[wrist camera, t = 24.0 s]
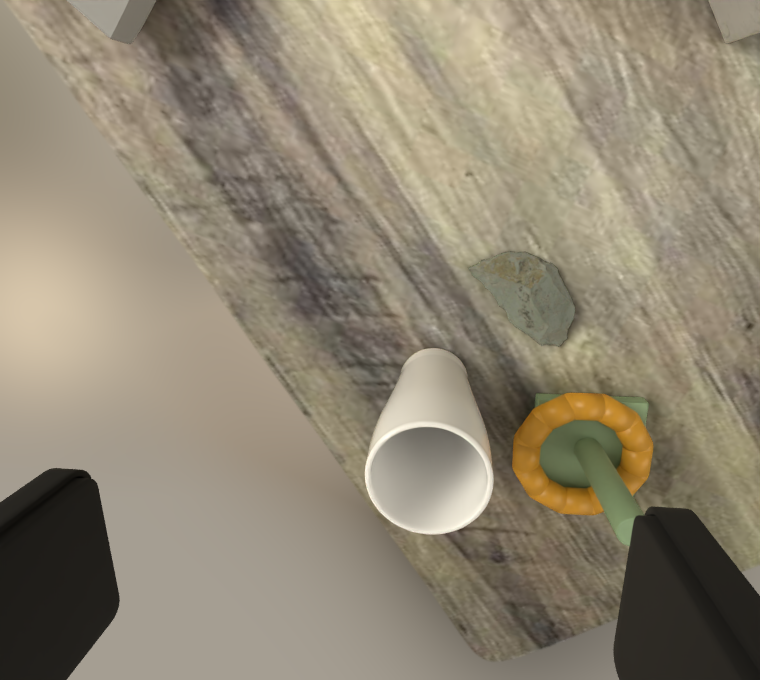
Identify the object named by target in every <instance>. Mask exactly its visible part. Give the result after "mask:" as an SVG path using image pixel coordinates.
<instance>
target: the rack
mask: <svg viewBox="0 0 760 680" xmlns="http://www.w3.org/2000/svg"><path fill="white" fill-rule="evenodd" d="M561 395H563V394H540V393H536V398H535V407H537V406H539V405H541V404H544V403H546V402H548V401H550V400H552V399H554V398H556V397H559V396H561ZM610 397H612V398H613V399H615V400H617V401H619V402H620V403H622V404H624V405H626V406H627V407H629V408H631V409H633V410H634V411H636V412H637V413H638V415H639V416H640V418H641V420H642V422H643V424H644V426H645V425H646V419H647V412H648V406H649V403H648V402H647V401H646V400H645V399H644V398H642V397H617V396H610ZM622 447H623V446H622V444H621V442H620V440H619V438H618V436H617V434H616V432H615V431H614V430H612V429H611V428H609V427H607V426H605V425H604V424H602V423H600V422H598V421H587V420H573V421H571V422H569V423H567V424H565V425H562V426H560V427H558V428H556V429H553V430H552V432H551V433H550V434H549V436H548V437H547V438H546V440H545V441H544V442H543V444H542V445H541V449H540V462H539V463H540V465H541V467H542V469H543V470H544V472H545V474H546V476H547V477H548V478H549V479H551V480H553V481H554V482H556V483H558V484H560V485H562V486H563V487H572V488H588V487H590V486H592V488H593V490H594V492H595V494H596V496H597V498H598V500H599V502H600V504H601V506H602V508H603V510H604V512H605V514H606V516H607V518H608V520H609V522H610V524H611V526H612V528H613V530H614V532H615V534H616V536H617V538H618V540H619V541H620V542H621V543H623V544H625V545H627V546H630V540H631V534H632V528H633V522H634V519H635V517H636V516H638V515H644V514H643V512H642V510H641V509H640V507H639V506H638V504H637V502H636V501H635V499H634V498H633V497H634V495H635V494H634V495H633V496H632V494H631V493H630V491H629V490H628V488H627V486H626V485H625V483H624V482H623V480H622V478H621V477H620V475H619V474H618V472H617V470H616V468H617V467H618V466H619V465H620V462H621V455H622ZM644 516H645V515H644Z"/></svg>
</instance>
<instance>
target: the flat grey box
mask: <svg viewBox="0 0 760 680" xmlns="http://www.w3.org/2000/svg"><path fill="white" fill-rule="evenodd" d="M67 1H68V2H69V3H70V4H72V5H73V6H74V7H75V8H76V9H77V10H78V11H79V12H81V13H82V14H83V15H84V16H85V17H86V18H87V19H88V20H90V21H91V22H92V23H93V24H94V25H95V26H96V27H97V28H99V29H100V30H101V31H102V32H103V33H104V34H105V35H106V36H108V37H109V38H110V39H113V40H116V41H120V42H123V43H127V44H131V43H132V42H133V41H134V39H135V38H136V37H137V35H138V34H139V32H140V31H141V29H142V27H143V25H144V23H145V22H146V20H147V18H148V16H149V14H150V12H151V10H152V8H153V6H154V4H155V2H156V0H67Z"/></svg>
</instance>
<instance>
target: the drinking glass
mask: <svg viewBox="0 0 760 680" xmlns="http://www.w3.org/2000/svg"><path fill="white" fill-rule="evenodd" d="M365 482H366V487H367V491H368V493H369V496H370V498H371V500H372V502H373V503H374V505H375V506H376V508H377V509H378V510H379V511H380V512H381V514H382V515H384V516H385V517H386V518H387V519H388V520H390V521H391V522H392V523H394V524H396V525H397V526H399V527H401V528H404V529H406V530H409V531H412V532H416V533H421V534H444V533H449V532H452V531H456V530H458V529H461V528H463V527H465V526H466V525H468V524H470V523H471V522H472V521H474V520H475V519H476V518H477V517H478V516H479V515H480V514H481V513H482V512H483V510H484V509H485V507H486V506H487V504H488V502H489V500H490V497H491V494H492V491H493V482H494V477H493V466H492V456H491V449H490V443H489V438H488V434H487V431H486V427H485V424H484V421H483V418H482V416H481V413H480V410H479V408H478V405H477V403H476V400H475V397H474V395H473V392H472V389H471V387H470V384H469V381H468V375H467V371H466V369H465V367H464V365H463V363H462V362H461V361H460V359H459V358H458V357H457V356H455V355H454V354H452V353H451V352H449V351H447V350H444V349H439V348H428V349H423V350H421V351H418V352H416V353H415V354H413V355H412V356H411V357H410V358H409V359H408V360H407V361H406V362H405V364H404V366H403V368H402V370H401V373H400V377H399V379H398V381H397V383H396V385H395V387H394V389H393V391H392V393H391V395H390V397H389V399H388V401H387V403H386V405H385V407H384V409H383V411H382V413H381V415H380V417H379V419H378V422H377V424H376V427H375V429H374V432H373V436H372V439H371V443H370V447H369V451H368V457H367V462H366V467H365Z"/></svg>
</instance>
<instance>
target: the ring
mask: <svg viewBox="0 0 760 680" xmlns="http://www.w3.org/2000/svg"><path fill="white" fill-rule="evenodd" d="M573 420H587V421H598V422H600V423H602V424H604V425H605V426H607V427H609V428H611V429H612V430H614V431H615V432H616V434H617V436H618V438H619V440H620V442H621V444H622V446H623V447H622V455H621V462H620V465H619V466H618V467H617V468H616V470H617V472H618V474H619V475H620V477H621V478H622V480H623V482H624V483H625V485H626V486H627V488H628V490H629V491H630V493H631V494H632V496H633V495H634V494H635V492H636V491H637V490H638V489H639V488H640V487H641V486H642V484H643V483H644V482H645V481H646V480H647V479H648V477H649V473H650V467H651V460H652V453H653V441H652V439H651V437H650V435H649V433H648V432H647V430H646V428H645V426H644V424H643V422H642V420H641V418H640V416H639V415H638V413H637V412H636V411H634V410H633V409H631V408H629V407H627V406H626V405H624V404H622V403H620V402H619V401H617V400H615V399H613V398H612V397H610V396H608V395H606V394H600V393H565V394H563V395H561V396H559V397H556V398H554V399H552V400H550V401H548V402H546V403H544V404H541V405H539V406H537V407H535V408H534V409H533V410H532V411H531V413H530V414H529V415H528V417H527V418H526V420H525V421H524V422H523V424H522V425H521V426H520V428H519V429H518V430H517V432H516V433H515V436H514V443H513V460H512V467H513V470H514V472H515V474H516V475H517V477H518V479H519V481H520V482H521V484H522V486H523V487H524V489H525V491H526V492H527V494H528V495H529V496H530V497H531V498H532V499H534V500H536V501H538V502H540V503H541V504H543V505H545V506H547V507H548V508H550V509H552V510H554V511H556V512H558V513H561V514H577V515H597V514H599V513H602V512H604V510H603V508H602V506H601V504H600V502H599V500H598V498H597V496H596V494H595V492H594V490H593V488H592V486H590V487H588V488H572V487H563V486H562V485H560V484H558V483H556V482H554V481H553V480H551V479H549V478H548V477H547V476H546V474H545V472H544V470H543V469H542V467H541V465H540V463H539V462H540V449H541V445H542V444H543V442H544V441H545V440H546V438H547V437H548V436H549V434H550V433H551V432H552V430H553V429H556V428H558V427H560V426H562V425H565V424H567V423H569V422H571V421H573Z"/></svg>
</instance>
